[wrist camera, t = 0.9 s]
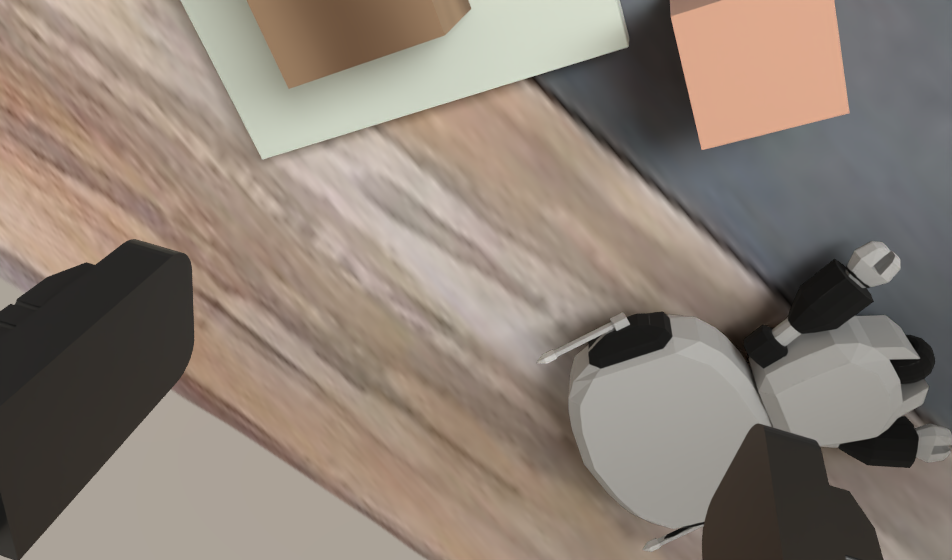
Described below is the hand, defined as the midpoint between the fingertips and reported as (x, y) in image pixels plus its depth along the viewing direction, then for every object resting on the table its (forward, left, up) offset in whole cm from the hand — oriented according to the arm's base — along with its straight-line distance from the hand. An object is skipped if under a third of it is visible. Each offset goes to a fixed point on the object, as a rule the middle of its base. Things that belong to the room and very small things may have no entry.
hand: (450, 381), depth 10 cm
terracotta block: (-6, +2, -21) cm, 22 cm away
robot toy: (-3, +17, -21) cm, 27 cm away
